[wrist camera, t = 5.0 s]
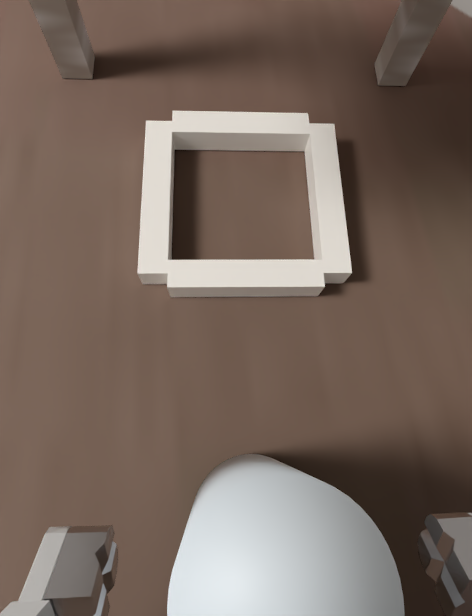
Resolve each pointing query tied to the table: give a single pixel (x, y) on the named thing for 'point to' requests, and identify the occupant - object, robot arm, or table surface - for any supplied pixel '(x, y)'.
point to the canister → (280, 548)
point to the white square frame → (243, 273)
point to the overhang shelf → (389, 64)
